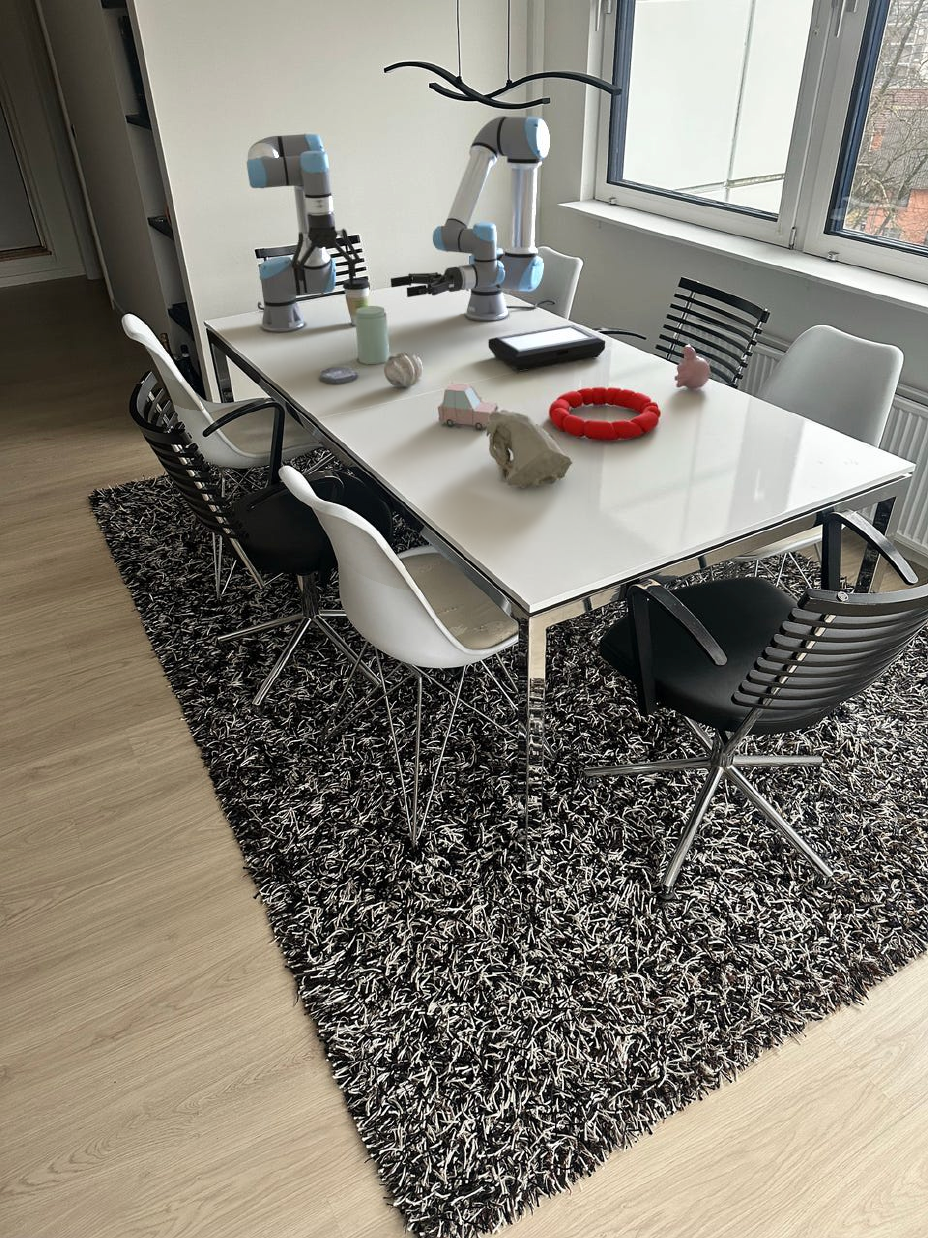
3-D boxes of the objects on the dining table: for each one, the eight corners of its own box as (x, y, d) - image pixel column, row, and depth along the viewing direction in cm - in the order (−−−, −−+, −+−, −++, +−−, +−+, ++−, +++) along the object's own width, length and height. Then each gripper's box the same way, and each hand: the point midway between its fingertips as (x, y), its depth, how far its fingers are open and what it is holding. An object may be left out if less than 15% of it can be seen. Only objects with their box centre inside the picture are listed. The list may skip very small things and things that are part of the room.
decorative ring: (589, 435, 224) (684, 402, 234) (527, 398, 247) (617, 369, 256) (589, 461, 229) (683, 427, 238) (529, 422, 251) (617, 393, 260)
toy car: (488, 432, 240) (488, 396, 234) (436, 426, 244) (434, 390, 239) (499, 419, 247) (499, 384, 241) (448, 413, 252) (447, 379, 246)
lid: (323, 385, 274) (322, 379, 273) (319, 374, 283) (318, 368, 282) (358, 381, 276) (357, 375, 275) (353, 370, 285) (352, 364, 284)
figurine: (665, 387, 264) (669, 347, 257) (693, 380, 268) (698, 340, 261) (686, 396, 257) (690, 355, 250) (714, 388, 262) (720, 348, 255)
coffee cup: (372, 326, 323) (368, 283, 314) (345, 327, 323) (340, 284, 315) (374, 318, 331) (371, 276, 322) (348, 319, 331) (344, 277, 323)
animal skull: (496, 517, 219) (521, 479, 201) (463, 429, 225) (484, 384, 207) (557, 503, 225) (586, 465, 206) (523, 417, 231) (549, 373, 212)
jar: (378, 352, 299) (373, 303, 290) (395, 359, 293) (392, 309, 284) (353, 359, 294) (348, 309, 285) (370, 366, 288) (366, 316, 278)
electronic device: (516, 354, 273) (488, 336, 289) (516, 374, 277) (488, 355, 292) (605, 338, 284) (574, 322, 299) (604, 357, 287) (573, 341, 302)
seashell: (376, 385, 272) (373, 353, 266) (419, 376, 278) (418, 344, 272) (390, 395, 265) (387, 362, 259) (434, 385, 270) (433, 353, 265)
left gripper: (276, 218, 247) (287, 296, 259) (365, 211, 251) (372, 289, 263) (275, 213, 253) (285, 290, 265) (362, 207, 257) (369, 283, 269)
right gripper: (476, 298, 285) (415, 308, 277) (443, 281, 303) (385, 290, 296) (475, 274, 280) (413, 283, 273) (442, 258, 299) (384, 267, 292)
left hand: (328, 289), depth 264 cm, fingers open, 13 cm apart
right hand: (399, 287), depth 285 cm, fingers open, 13 cm apart
